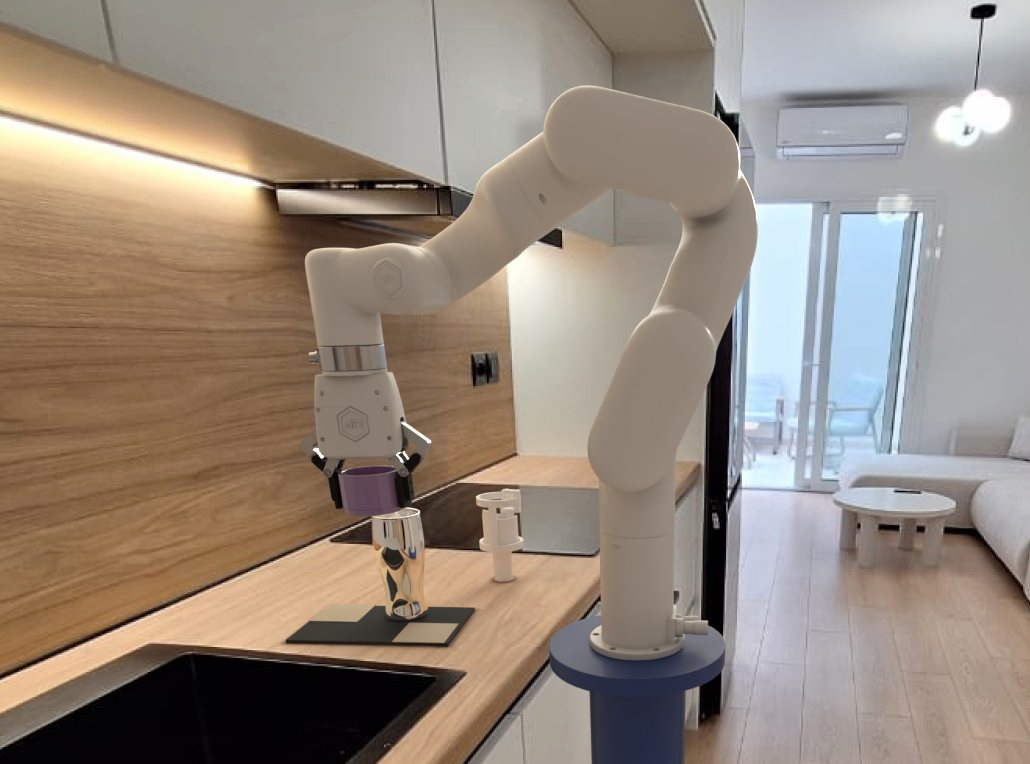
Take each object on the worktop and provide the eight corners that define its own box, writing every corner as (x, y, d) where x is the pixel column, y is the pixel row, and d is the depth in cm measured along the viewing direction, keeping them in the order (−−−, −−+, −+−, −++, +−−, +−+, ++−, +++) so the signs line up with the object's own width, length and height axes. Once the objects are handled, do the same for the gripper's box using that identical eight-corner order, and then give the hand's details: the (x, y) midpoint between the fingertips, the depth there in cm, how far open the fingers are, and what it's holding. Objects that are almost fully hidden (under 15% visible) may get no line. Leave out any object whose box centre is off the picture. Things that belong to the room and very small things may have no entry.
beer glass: (426, 603, 121) (416, 505, 116) (436, 618, 116) (426, 515, 110) (378, 610, 119) (366, 509, 113) (386, 625, 113) (373, 520, 107)
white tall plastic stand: (517, 586, 130) (512, 494, 125) (476, 584, 131) (468, 492, 126) (530, 573, 137) (525, 485, 131) (490, 571, 138) (484, 484, 132)
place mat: (474, 609, 120) (474, 606, 120) (448, 646, 107) (447, 642, 107) (330, 607, 121) (329, 604, 121) (285, 642, 108) (285, 639, 108)
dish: (412, 502, 107) (407, 464, 105) (393, 516, 100) (387, 475, 98) (357, 503, 107) (351, 465, 105) (334, 516, 100) (328, 476, 98)
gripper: (267, 364, 94) (294, 513, 100) (414, 361, 93) (432, 512, 99) (297, 361, 101) (320, 500, 107) (434, 358, 100) (449, 499, 106)
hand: (374, 505), depth 103 cm, fingers closed on dish, 7 cm apart
